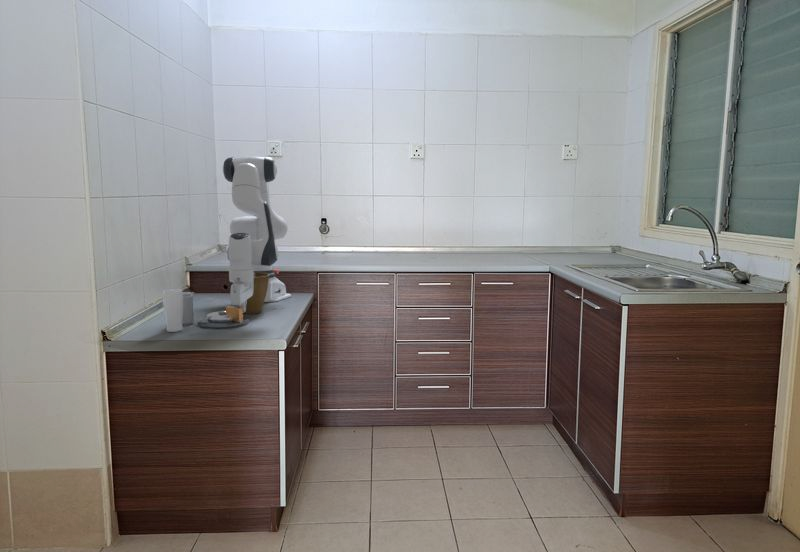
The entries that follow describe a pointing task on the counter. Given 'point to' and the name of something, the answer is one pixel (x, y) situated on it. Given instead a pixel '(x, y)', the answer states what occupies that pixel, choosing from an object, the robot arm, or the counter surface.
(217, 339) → the counter surface
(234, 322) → the dial plate
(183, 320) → the beverage can
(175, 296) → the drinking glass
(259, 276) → the plant pot
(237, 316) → the dial
